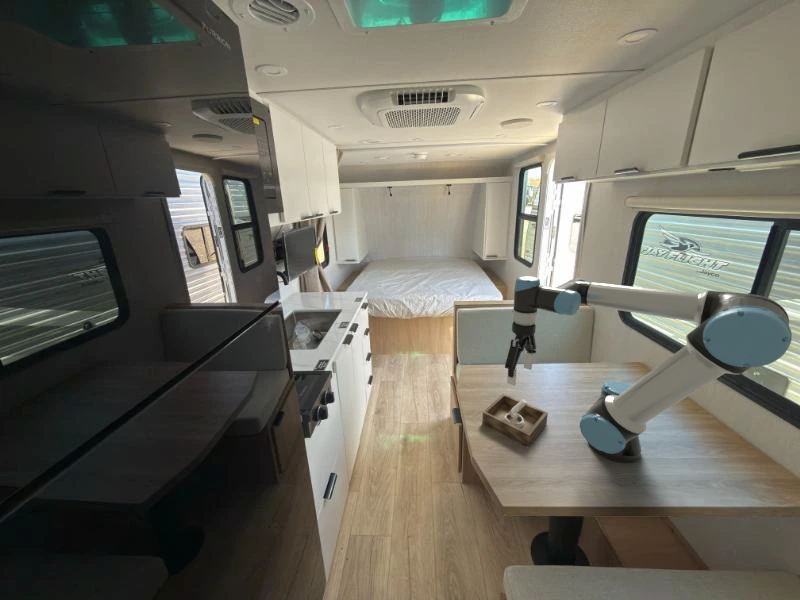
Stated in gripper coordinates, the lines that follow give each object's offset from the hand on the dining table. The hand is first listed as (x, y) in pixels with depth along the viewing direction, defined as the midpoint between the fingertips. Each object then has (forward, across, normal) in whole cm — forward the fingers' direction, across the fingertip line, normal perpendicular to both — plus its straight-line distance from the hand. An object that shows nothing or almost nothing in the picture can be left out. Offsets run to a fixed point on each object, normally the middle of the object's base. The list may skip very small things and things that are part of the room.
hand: (519, 375), depth 111 cm
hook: (+20, 0, -1) cm, 20 cm away
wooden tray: (+21, 0, 0) cm, 21 cm away
